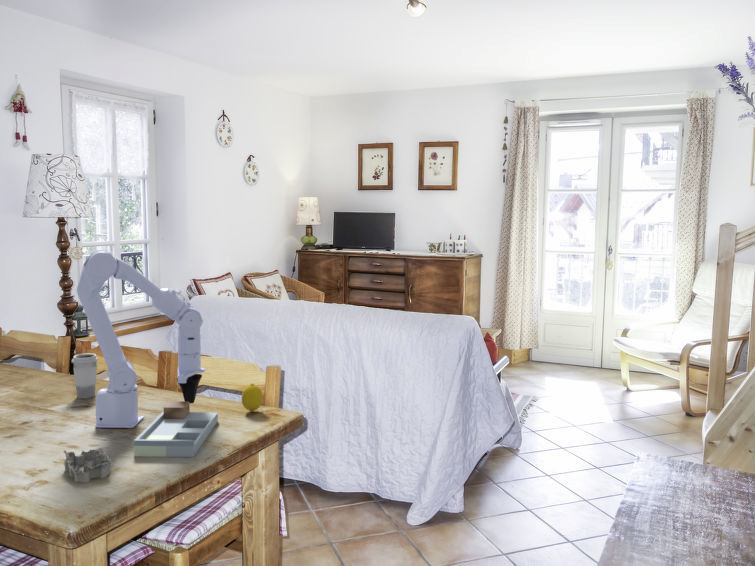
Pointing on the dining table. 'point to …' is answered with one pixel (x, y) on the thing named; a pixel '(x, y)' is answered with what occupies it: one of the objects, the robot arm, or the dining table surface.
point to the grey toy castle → (88, 465)
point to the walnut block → (176, 410)
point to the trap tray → (175, 435)
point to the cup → (85, 374)
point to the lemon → (252, 397)
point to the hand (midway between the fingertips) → (189, 402)
